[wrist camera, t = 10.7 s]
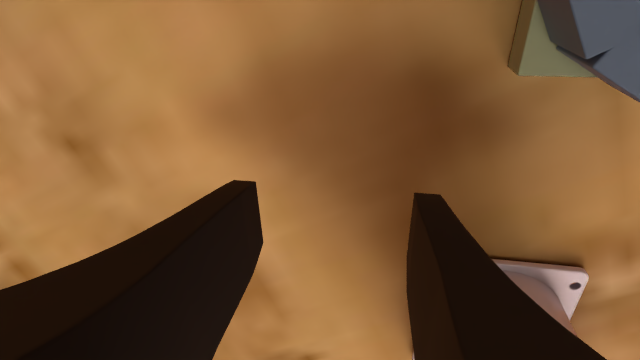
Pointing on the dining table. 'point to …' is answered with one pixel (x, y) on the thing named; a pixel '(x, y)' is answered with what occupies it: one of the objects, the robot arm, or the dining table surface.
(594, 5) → the ring
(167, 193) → the dining table surface
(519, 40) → the post
